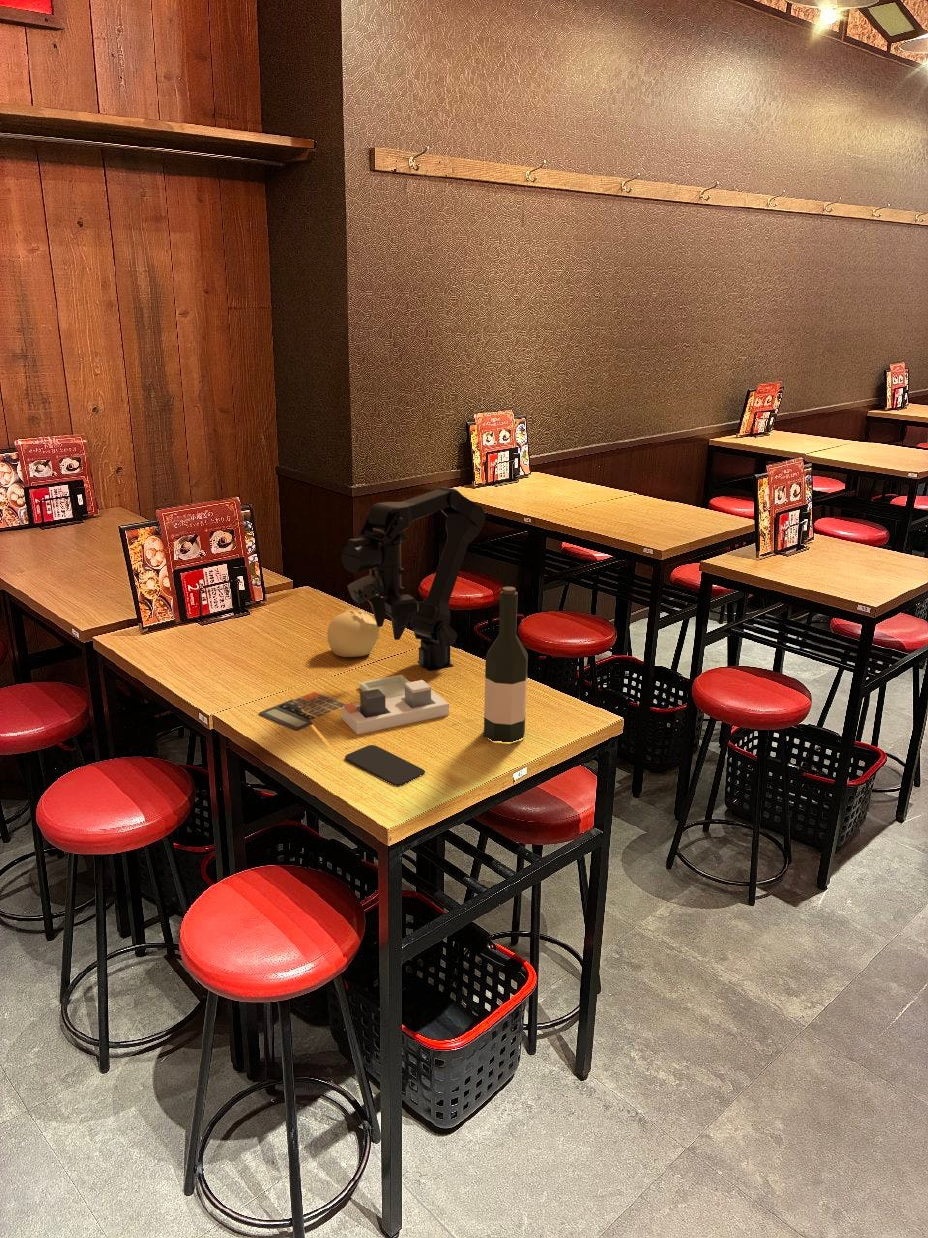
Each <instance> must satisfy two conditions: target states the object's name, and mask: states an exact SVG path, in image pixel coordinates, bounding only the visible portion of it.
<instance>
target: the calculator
mask: <svg viewBox="0 0 928 1238" xmlns="http://www.w3.org/2000/svg"><path fill="white" fill-rule="evenodd" d="M344 704H345V703H343V702H340V700H339V701H338V700H336V699H333V698H330V697H328V696H325V695H324V694H320V693H318V692H315V691H312V692H310V693H308V694H305V695H303V696H301V697H298V698H295V699H294V700H293V699H289V700H288V701H284V702H282V703H280V704H277V705H274V706H272V707H270V708H267V709H265V710H261V711H260V712H258V715H259V714H260V715H259V716H261V715H262V716H261V717H263V716H264V717H263V718H265V717H266V718H265V719H267V718H268V719H267V720H270V721H272V722H274V723H276V724H279V725H282V726H283V727H286V728H288V729H291V730H292V731H295V732H297V731H301V729H305V728H307V727H309V726H311V725H314V724H313V722H312V721H311V720H314V719H317V717H322V716H323V715H325V714H327V713H328V714H329V713H331V712H332V711H336V710H338V709H339V708H342V707H344ZM313 715H314V716H313ZM315 716H316V717H315Z"/></svg>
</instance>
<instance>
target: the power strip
mask: <svg viewBox="0 0 928 1238" xmlns="http://www.w3.org/2000/svg"><path fill="white" fill-rule="evenodd" d="M359 701H360V703H356V704H353V702H349V703H344V706H343V707H341V713H342V714H341V715H342V717H341V718H342V720H343V721H344V722H345V723H346V724H347V726H349V728H350V729H352V731H353V732H354V733H355V734H356V735H357V736H358V735H362V734H367V733H372V732H377V731H382V730H387V729H391V728H395V727H399V726H404V725H408V724H409V725H410V724H413V723H414V724H415V723H419V722H423V721H428V720H431V719H436V718H442V717H446V716H450V702H448V701H447V700H445V699H444V698H443V697H442V696H441V695H439V694H438V693H436V692H435V691H434V690H433V689H432V688H431V705H426V706H421V707H416V708H411V707H410V706H408V705H407V704H406V703H405V695H401V696H396V697H391V698H386V699H385V695H384V694H383V693H382V692H381V691H380V690H378V689H374V690H369V691H360V692H359Z"/></svg>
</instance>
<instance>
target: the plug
mask: <svg viewBox="0 0 928 1238" xmlns="http://www.w3.org/2000/svg"><path fill="white" fill-rule="evenodd" d="M431 689H432V686H431V685H429V683H428V682H426V681H425V680H423V679H420V680H415V681H410V682H408V683H405V703H406V704H407V705H408V706H410V707H411V708H416V707H421V706H426V705H431Z"/></svg>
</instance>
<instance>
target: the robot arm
mask: <svg viewBox="0 0 928 1238" xmlns="http://www.w3.org/2000/svg"><path fill="white" fill-rule="evenodd" d="M438 512H441V513H442V514H444V515H445V516H446V520H445V528H446V533H447V539H446V542H445V545H444V548H443V551H442V554H441V557H440V559H439V562H438V566H437V569H436V571H435V575H434V577H433V580H432V583H431V586H430V589H429V592H428V595H427V597H426V598H425V599H424V600H423V601H419V600H417V599H416V598H415V597H413V596H412V595H410V594H405V591H406V590H405V589H406V588H405V587H404V586H402V575H405V573H406V572H405V568H403V567H402V549H401V548H402V544H401V543H402V542H405V541H408V540H409V536H408V535H406V534H405V533H404V532H403V531H406V530H407V529H408V528H410V526H411V524H412V523H413V522H414V521H416V520H419V519H421V518H424V517H427V516H429V515H433V514H435V513H438ZM486 517H487V516H486V514H485V511H484V508H483V507H482V505H478V504H476V503H475V502H474V501H472V500H471V499H469V498H468V497H465V496H464V495H463V494H462V493H461V492H460V491H459V490H457V489H456V488H452V487H447V486H440V487H437V488H436V489H434V490H432V491H428V492H426V493H423V494H421V495H417V496H414V497H411V498H408V499H406V500H404V501H385V502H384V501H383V502H377V503H374V504H373V505H371V507H370V510H369V512H368V514H367V516H366V518H365V520H364V522H363V524H362V526H361V528H360V531H359V532H358V534H357V535H358V538H349V539H348V540H347V545H346V546H344V548H343V550H342V553H341V562H342V565H343V567H344V568H345V570H346V571H347V572H349V573H351V574H356V573H359V572H364V571H367V570H369V571H368V572H369V574H368V575H366V576H362V577H361V578H359V579H357V580H355V581H352V582H350V583H349V584H347V590H348V591H349V595H350V597H351V599H352V600H353V601H355V602H356V603H357V604H359V605H360V604H363V603H365V602H366V601H367V602H369V603H370V604H369V605H370V607H371V610H372V614H373V617H374V620H375V621H376V624H377V626H378V627H380V628H381V627H383V625H384V622H385V619H386V615H388V617H390V619H391V625H392V634H393V638H394V640H395V641H399V640H400V639H401V638H402V636H403V633H404V632H405V630H406V627H407V625H408V624H409V622H410V627H411V629H412V631H413V634H414V638H415V639H416V640H420V647H418V661H417V663H418V664H419V665H420V666H421V667H422V668H424V669H425V670H427V671H428V672H432V671H437V670H443V669H447V668H453V667H454V666H455V665H454V664H453V663H451V647H452V646H453V644H455V643H456V641H457V637H458V633H457V632H456V631H455V630H454V629H453V628H452V627H451V626H450V624H451V623H450V622H451V618H452V616H451V611H450V606H449V605H450V604H449V603H450V601H451V597H452V593H453V591H454V588H455V585H456V583H457V579H458V577H459V574H460V570H461V567H462V564H463V562H464V558H465V556H466V552H467V550H468V548H469V545H470V543H471V542H473V541H474V540H475V539H476V538H477V537H478V536H479V535H480V532H481V531H482V529H483V527H484V525H485V522H486ZM381 532H382V533H381Z"/></svg>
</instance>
